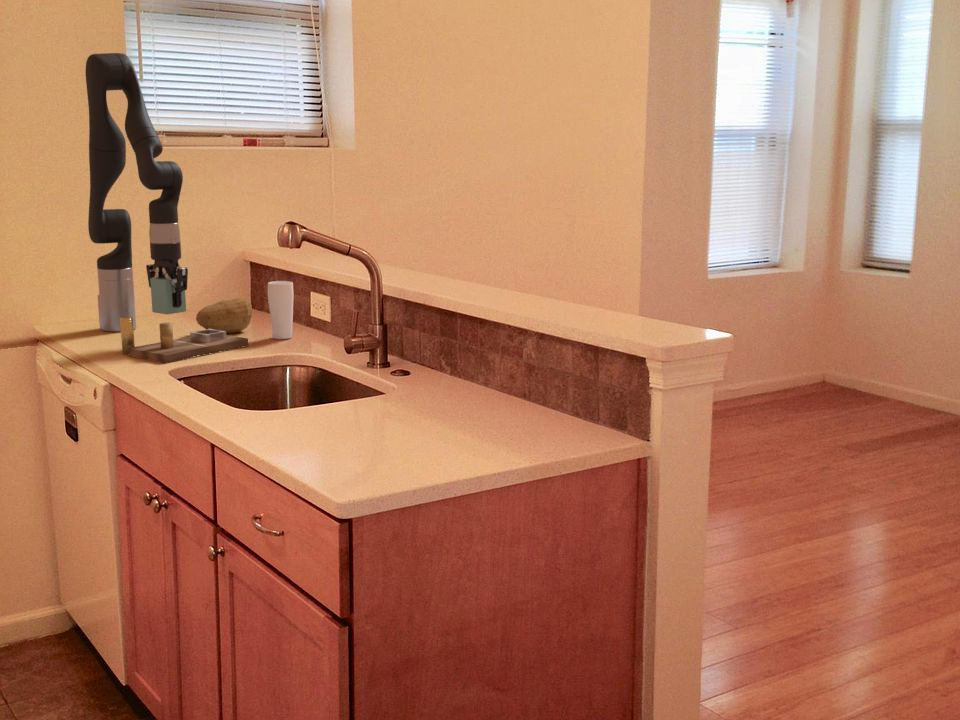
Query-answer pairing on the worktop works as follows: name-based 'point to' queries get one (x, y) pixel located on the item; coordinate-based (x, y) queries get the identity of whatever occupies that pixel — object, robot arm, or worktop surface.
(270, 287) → the drinking glass
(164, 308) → the block
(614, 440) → the worktop surface
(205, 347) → the board
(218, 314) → the potato
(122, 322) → the pin
